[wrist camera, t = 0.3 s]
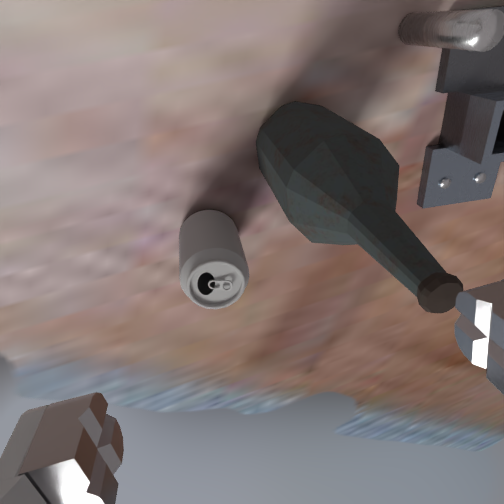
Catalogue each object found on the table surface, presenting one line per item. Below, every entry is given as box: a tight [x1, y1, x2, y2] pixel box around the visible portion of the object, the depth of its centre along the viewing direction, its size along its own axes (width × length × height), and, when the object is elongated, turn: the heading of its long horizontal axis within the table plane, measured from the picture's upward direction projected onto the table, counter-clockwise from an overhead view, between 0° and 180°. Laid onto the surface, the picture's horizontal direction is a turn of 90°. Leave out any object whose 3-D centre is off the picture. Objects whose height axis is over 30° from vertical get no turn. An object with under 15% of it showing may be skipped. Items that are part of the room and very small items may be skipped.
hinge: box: [417, 6, 504, 208], centre depth 44 cm, size 23×10×8 cm, turn 5°
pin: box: [398, 9, 504, 52], centre depth 36 cm, size 3×3×12 cm
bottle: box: [256, 102, 463, 313], centre depth 33 cm, size 10×10×30 cm
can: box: [179, 210, 249, 309], centre depth 44 cm, size 8×8×12 cm
